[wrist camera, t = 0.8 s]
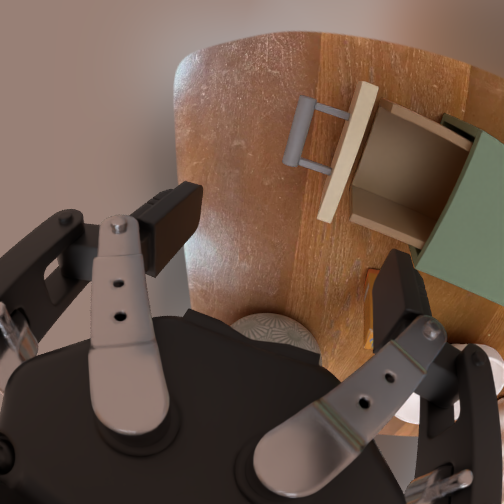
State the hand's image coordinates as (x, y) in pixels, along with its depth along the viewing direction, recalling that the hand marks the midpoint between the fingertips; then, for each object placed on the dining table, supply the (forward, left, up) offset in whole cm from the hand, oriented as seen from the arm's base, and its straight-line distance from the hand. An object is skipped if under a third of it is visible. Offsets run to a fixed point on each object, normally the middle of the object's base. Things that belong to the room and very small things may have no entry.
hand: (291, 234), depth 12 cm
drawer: (-1, +6, -19) cm, 20 cm away
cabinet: (-1, +18, -20) cm, 27 cm away
